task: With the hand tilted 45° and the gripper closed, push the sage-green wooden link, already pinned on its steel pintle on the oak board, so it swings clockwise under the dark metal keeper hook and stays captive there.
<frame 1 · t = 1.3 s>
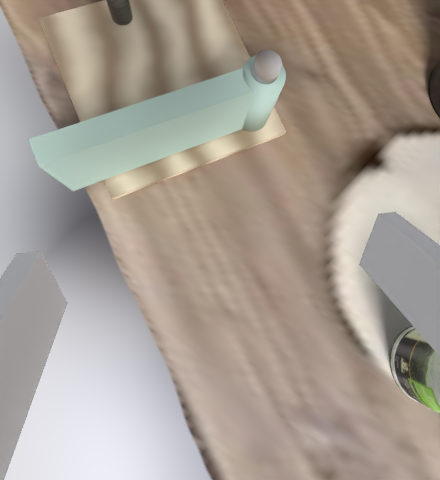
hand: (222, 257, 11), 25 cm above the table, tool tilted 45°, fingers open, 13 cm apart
coffee can: (424, 362, 37), on the table
pintle board: (164, 79, 40), on the table
keeper: (112, 35, 40), resting on pintle board
link: (170, 127, 33), point 5 cm above the table, hinge at 0.0°
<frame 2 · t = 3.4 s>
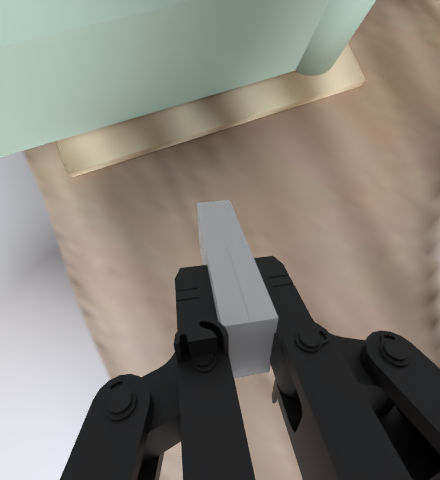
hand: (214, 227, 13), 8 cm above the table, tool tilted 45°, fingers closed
link: (176, 43, 18), point 5 cm above the table, hinge at 0.0°
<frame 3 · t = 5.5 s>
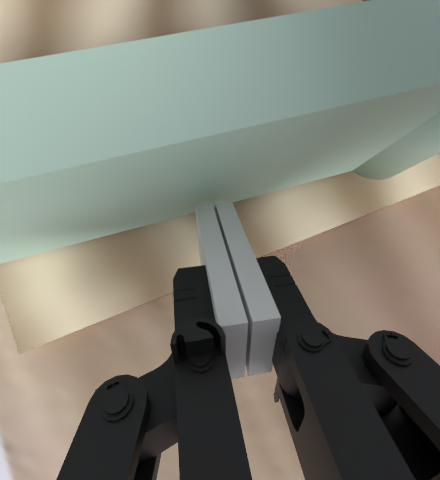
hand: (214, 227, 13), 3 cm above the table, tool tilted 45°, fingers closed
pintle board: (173, 49, 17), on the table
link: (180, 155, 11), point 5 cm above the table, hinge at -5.2°, touching gripper
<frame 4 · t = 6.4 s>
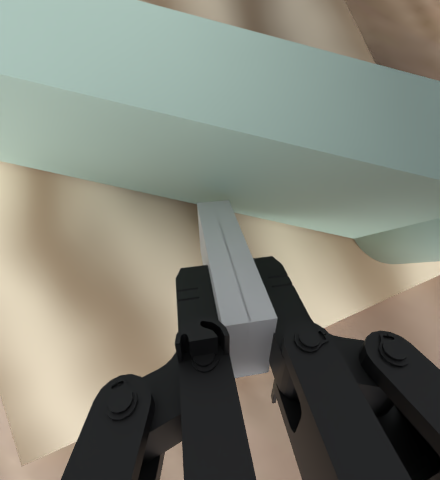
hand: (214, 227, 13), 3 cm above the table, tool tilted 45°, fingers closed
pintle board: (181, 123, 17), on the table
link: (187, 139, 11), point 5 cm above the table, hinge at -33.1°, touching gripper
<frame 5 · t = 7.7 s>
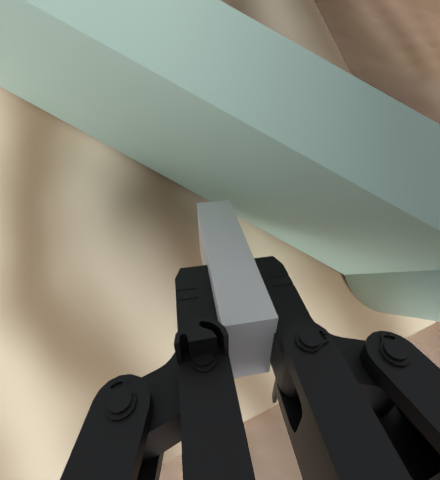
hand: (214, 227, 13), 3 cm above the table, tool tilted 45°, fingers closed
pintle board: (172, 170, 16), on the table
link: (208, 129, 11), point 5 cm above the table, hinge at -50.6°
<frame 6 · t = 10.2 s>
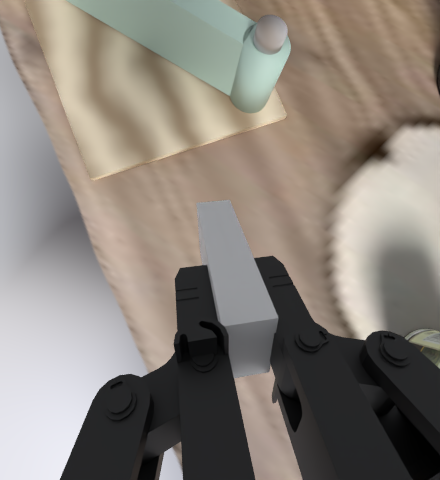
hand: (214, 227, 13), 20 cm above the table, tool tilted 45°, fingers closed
coffee can: (427, 369, 35), on the table
pintle board: (155, 52, 36), on the table
link: (166, 19, 31), point 5 cm above the table, hinge at -50.6°
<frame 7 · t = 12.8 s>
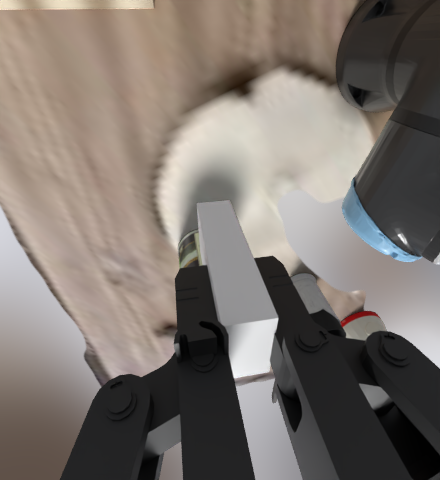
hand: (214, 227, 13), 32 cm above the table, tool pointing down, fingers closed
grey and black mug: (288, 290, 67), on the table
coffee can: (203, 248, 55), on the table
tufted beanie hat: (355, 325, 82), on the table
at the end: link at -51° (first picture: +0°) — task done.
